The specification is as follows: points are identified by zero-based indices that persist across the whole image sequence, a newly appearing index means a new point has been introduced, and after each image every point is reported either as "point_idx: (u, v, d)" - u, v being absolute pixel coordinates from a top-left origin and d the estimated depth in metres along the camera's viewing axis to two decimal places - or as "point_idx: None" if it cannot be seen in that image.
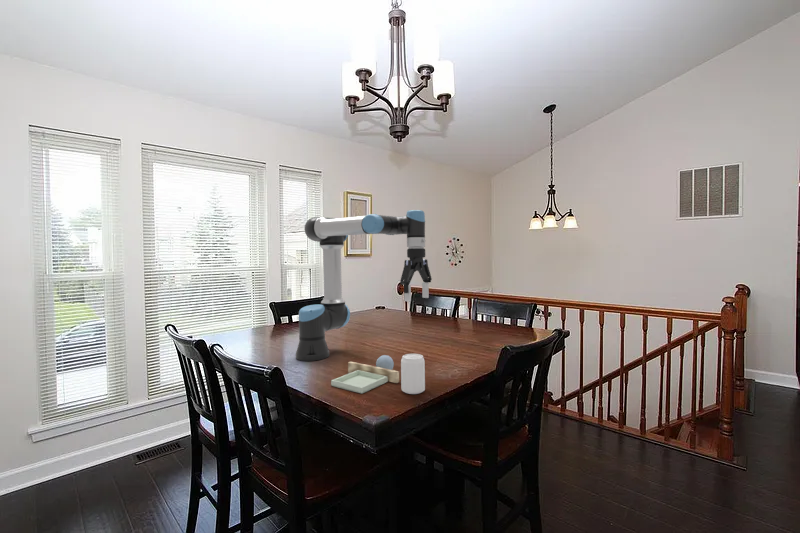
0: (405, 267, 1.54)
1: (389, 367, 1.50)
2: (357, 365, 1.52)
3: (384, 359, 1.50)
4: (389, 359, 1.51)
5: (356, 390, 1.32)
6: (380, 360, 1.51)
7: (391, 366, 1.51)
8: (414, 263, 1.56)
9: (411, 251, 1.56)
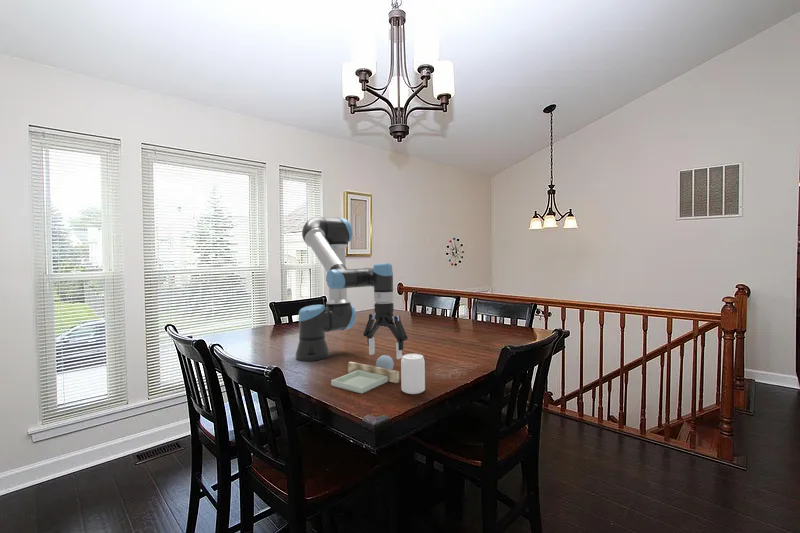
0: None
1: (389, 367, 1.50)
2: (357, 365, 1.52)
3: (384, 359, 1.50)
4: (389, 359, 1.51)
5: (356, 390, 1.32)
6: (380, 360, 1.51)
7: (391, 366, 1.51)
8: (376, 318, 1.53)
9: None
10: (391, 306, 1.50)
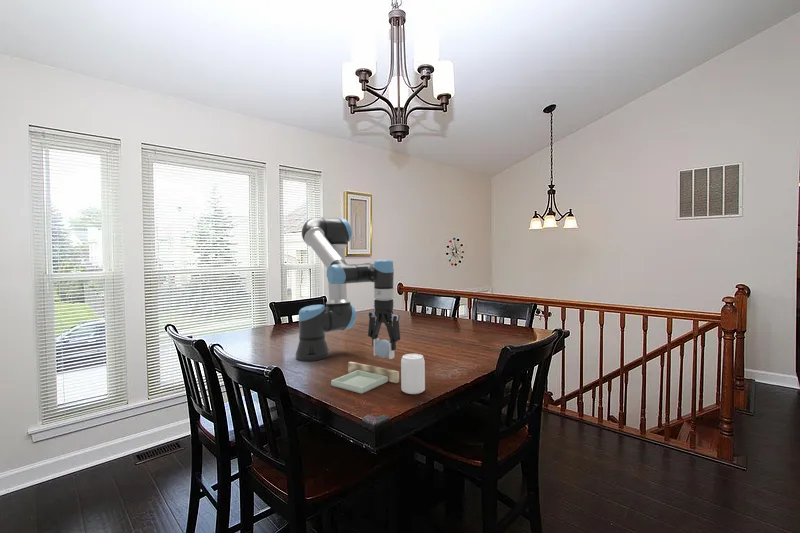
0: None
1: (388, 351, 1.50)
2: (357, 365, 1.52)
3: (383, 344, 1.51)
4: (388, 343, 1.51)
5: (356, 390, 1.32)
6: (379, 344, 1.51)
7: None
8: (376, 314, 1.53)
9: None
10: (391, 303, 1.50)
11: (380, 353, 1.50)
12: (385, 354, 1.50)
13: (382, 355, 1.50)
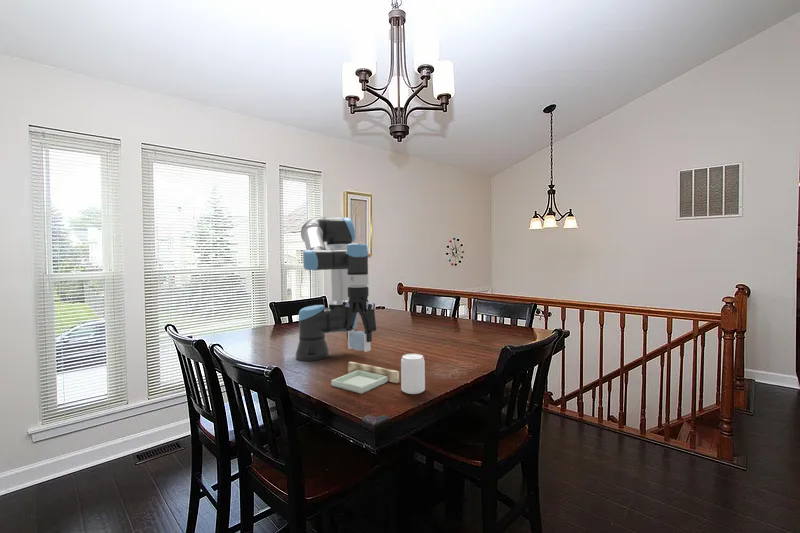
0: None
1: (363, 343, 1.37)
2: (357, 365, 1.52)
3: (358, 335, 1.38)
4: (363, 335, 1.38)
5: (356, 390, 1.32)
6: (353, 336, 1.38)
7: None
8: (350, 303, 1.41)
9: None
10: (365, 290, 1.37)
11: (354, 345, 1.37)
12: (360, 346, 1.37)
13: (357, 347, 1.37)
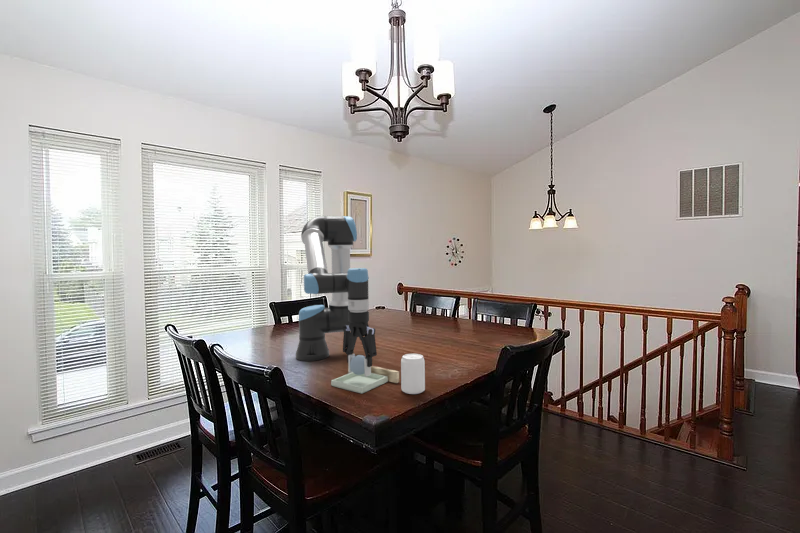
0: None
1: None
2: None
3: (359, 360, 1.38)
4: None
5: (356, 390, 1.32)
6: (354, 360, 1.38)
7: None
8: (350, 327, 1.41)
9: None
10: (366, 315, 1.38)
11: (355, 370, 1.37)
12: (360, 371, 1.37)
13: (357, 372, 1.38)
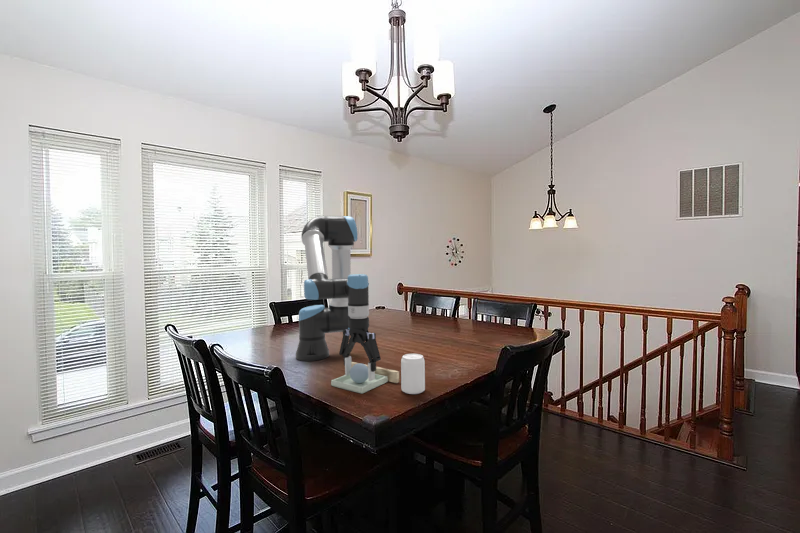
0: None
1: (364, 376, 1.38)
2: None
3: (359, 368, 1.38)
4: (364, 368, 1.39)
5: (356, 390, 1.32)
6: (354, 369, 1.38)
7: (366, 375, 1.39)
8: (350, 333, 1.41)
9: None
10: (366, 321, 1.38)
11: (355, 378, 1.38)
12: (360, 379, 1.38)
13: (357, 381, 1.38)
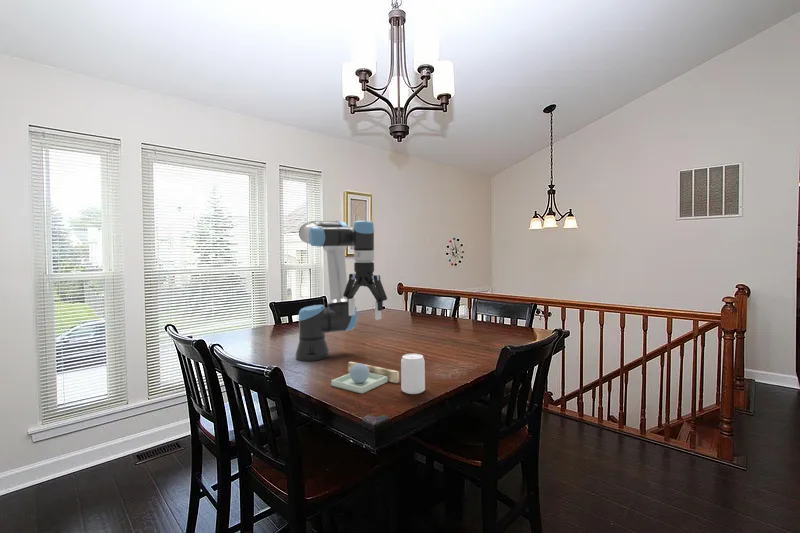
0: None
1: (364, 376, 1.38)
2: None
3: (358, 368, 1.38)
4: (364, 368, 1.39)
5: (356, 390, 1.32)
6: (354, 369, 1.38)
7: (366, 375, 1.39)
8: (356, 277, 1.48)
9: None
10: (371, 265, 1.45)
11: (355, 378, 1.38)
12: (360, 379, 1.38)
13: (357, 381, 1.38)
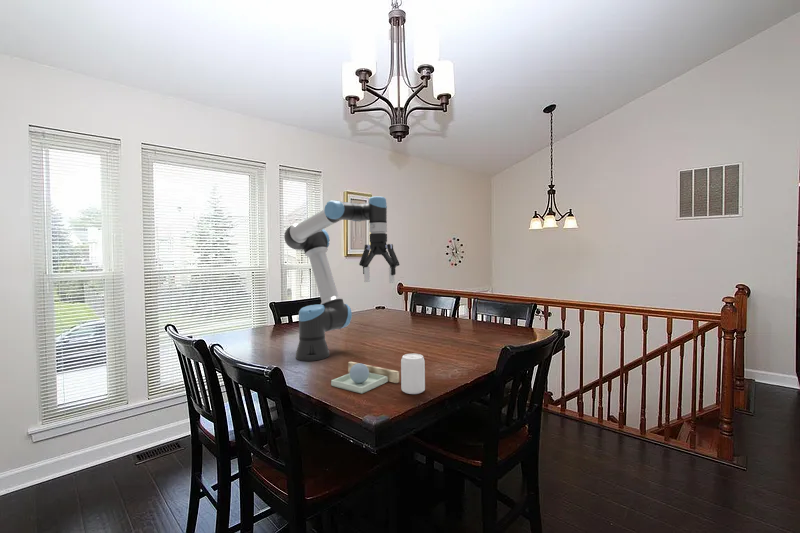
0: None
1: (363, 376, 1.38)
2: None
3: (358, 368, 1.38)
4: (363, 367, 1.39)
5: (356, 390, 1.32)
6: (354, 369, 1.38)
7: (366, 375, 1.39)
8: (371, 247, 1.67)
9: None
10: (385, 236, 1.64)
11: (355, 378, 1.38)
12: (360, 379, 1.38)
13: (357, 381, 1.38)
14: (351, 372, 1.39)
